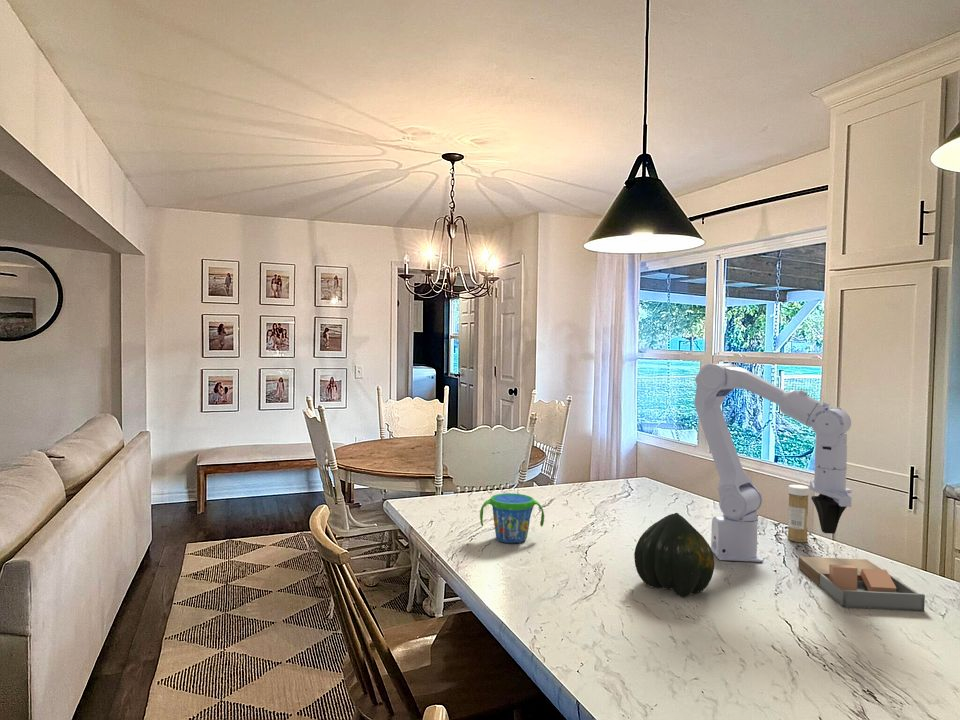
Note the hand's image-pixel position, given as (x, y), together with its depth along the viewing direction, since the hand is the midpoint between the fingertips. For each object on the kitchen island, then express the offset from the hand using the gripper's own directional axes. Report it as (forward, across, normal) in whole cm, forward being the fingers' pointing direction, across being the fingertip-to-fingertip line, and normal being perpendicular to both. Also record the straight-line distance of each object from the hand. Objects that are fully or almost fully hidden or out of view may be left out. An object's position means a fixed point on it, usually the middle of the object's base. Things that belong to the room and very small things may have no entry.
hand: (828, 532), depth 130 cm
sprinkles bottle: (+10, +26, -4) cm, 28 cm away
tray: (+9, -10, -4) cm, 14 cm away
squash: (+10, -10, +33) cm, 36 cm away
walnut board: (+9, 0, -3) cm, 10 cm away
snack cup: (+10, +16, +66) cm, 69 cm away
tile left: (+7, -6, 0) cm, 9 cm away
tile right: (+8, -6, -7) cm, 12 cm away
